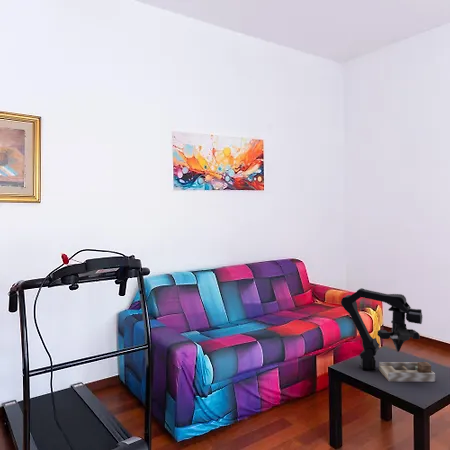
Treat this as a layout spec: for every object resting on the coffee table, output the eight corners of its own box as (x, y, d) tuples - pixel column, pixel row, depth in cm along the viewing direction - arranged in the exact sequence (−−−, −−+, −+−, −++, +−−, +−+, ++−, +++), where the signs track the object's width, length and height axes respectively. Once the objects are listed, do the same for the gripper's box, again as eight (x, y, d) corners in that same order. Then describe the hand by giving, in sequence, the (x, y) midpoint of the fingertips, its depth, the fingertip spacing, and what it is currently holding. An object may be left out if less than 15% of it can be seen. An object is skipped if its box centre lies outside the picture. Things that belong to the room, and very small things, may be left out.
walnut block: (421, 374, 193) (421, 365, 193) (417, 370, 198) (417, 362, 197) (431, 374, 193) (431, 365, 193) (426, 370, 198) (426, 362, 197)
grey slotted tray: (388, 381, 192) (389, 373, 192) (378, 369, 205) (378, 362, 205) (434, 381, 192) (435, 373, 191) (421, 370, 205) (422, 362, 204)
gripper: (386, 325, 189) (385, 357, 190) (425, 325, 189) (424, 357, 190) (377, 318, 200) (376, 349, 201) (414, 318, 200) (413, 349, 201)
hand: (397, 351), depth 198 cm, fingers closed
